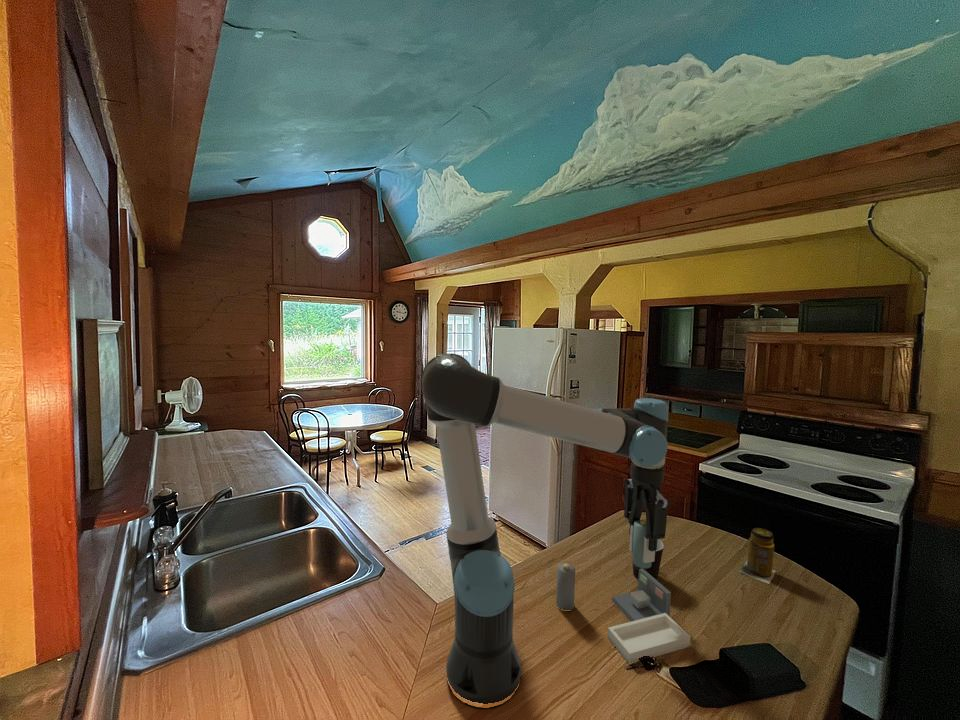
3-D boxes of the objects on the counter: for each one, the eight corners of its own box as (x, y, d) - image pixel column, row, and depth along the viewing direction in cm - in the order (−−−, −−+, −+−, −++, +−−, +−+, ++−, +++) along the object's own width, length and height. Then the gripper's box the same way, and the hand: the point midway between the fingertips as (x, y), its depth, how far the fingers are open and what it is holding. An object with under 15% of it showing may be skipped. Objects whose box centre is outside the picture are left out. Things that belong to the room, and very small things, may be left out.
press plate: (638, 608, 100) (638, 601, 100) (629, 600, 103) (630, 592, 103) (650, 605, 101) (651, 598, 101) (641, 597, 104) (642, 590, 104)
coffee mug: (657, 589, 110) (659, 554, 109) (624, 577, 116) (626, 543, 115) (667, 568, 120) (669, 536, 119) (637, 558, 125) (639, 526, 124)
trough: (629, 664, 87) (629, 653, 86) (607, 637, 94) (607, 627, 94) (689, 646, 91) (690, 636, 91) (664, 622, 99) (665, 612, 98)
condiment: (776, 571, 119) (779, 532, 118) (769, 584, 113) (772, 543, 112) (746, 560, 124) (750, 523, 123) (738, 572, 118) (741, 533, 117)
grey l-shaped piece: (638, 628, 97) (639, 600, 96) (612, 600, 106) (613, 574, 105) (669, 620, 99) (671, 592, 98) (641, 593, 109) (642, 568, 108)
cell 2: (655, 566, 100) (657, 524, 99) (639, 569, 99) (642, 526, 97) (643, 556, 104) (645, 515, 103) (628, 559, 103) (630, 518, 102)
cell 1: (561, 613, 101) (562, 572, 100) (553, 601, 106) (554, 562, 104) (577, 609, 103) (578, 569, 102) (568, 598, 107) (569, 559, 106)
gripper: (688, 475, 92) (680, 574, 94) (636, 450, 108) (631, 535, 110) (660, 478, 89) (653, 579, 92) (612, 453, 106) (607, 539, 108)
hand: (641, 555), depth 101 cm, fingers closed on cell 2, 4 cm apart
